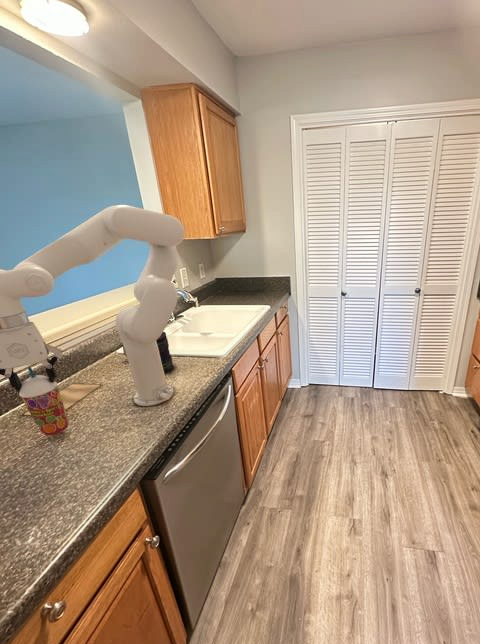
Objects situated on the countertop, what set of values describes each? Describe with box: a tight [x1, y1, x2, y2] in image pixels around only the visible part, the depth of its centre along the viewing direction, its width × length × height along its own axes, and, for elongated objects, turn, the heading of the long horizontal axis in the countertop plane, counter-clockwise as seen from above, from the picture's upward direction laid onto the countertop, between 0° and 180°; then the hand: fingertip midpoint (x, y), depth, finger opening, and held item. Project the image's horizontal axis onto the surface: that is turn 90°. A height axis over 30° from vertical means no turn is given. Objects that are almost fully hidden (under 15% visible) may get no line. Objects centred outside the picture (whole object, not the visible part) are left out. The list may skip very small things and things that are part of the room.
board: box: [23, 383, 101, 416], centre depth 112 cm, size 20×12×1 cm, turn 171°
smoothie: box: [18, 366, 70, 437], centre depth 89 cm, size 8×8×20 cm
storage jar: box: [156, 331, 174, 375], centre depth 127 cm, size 10×10×15 cm
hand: (36, 383), depth 87 cm, fingers closed on smoothie, 6 cm apart
